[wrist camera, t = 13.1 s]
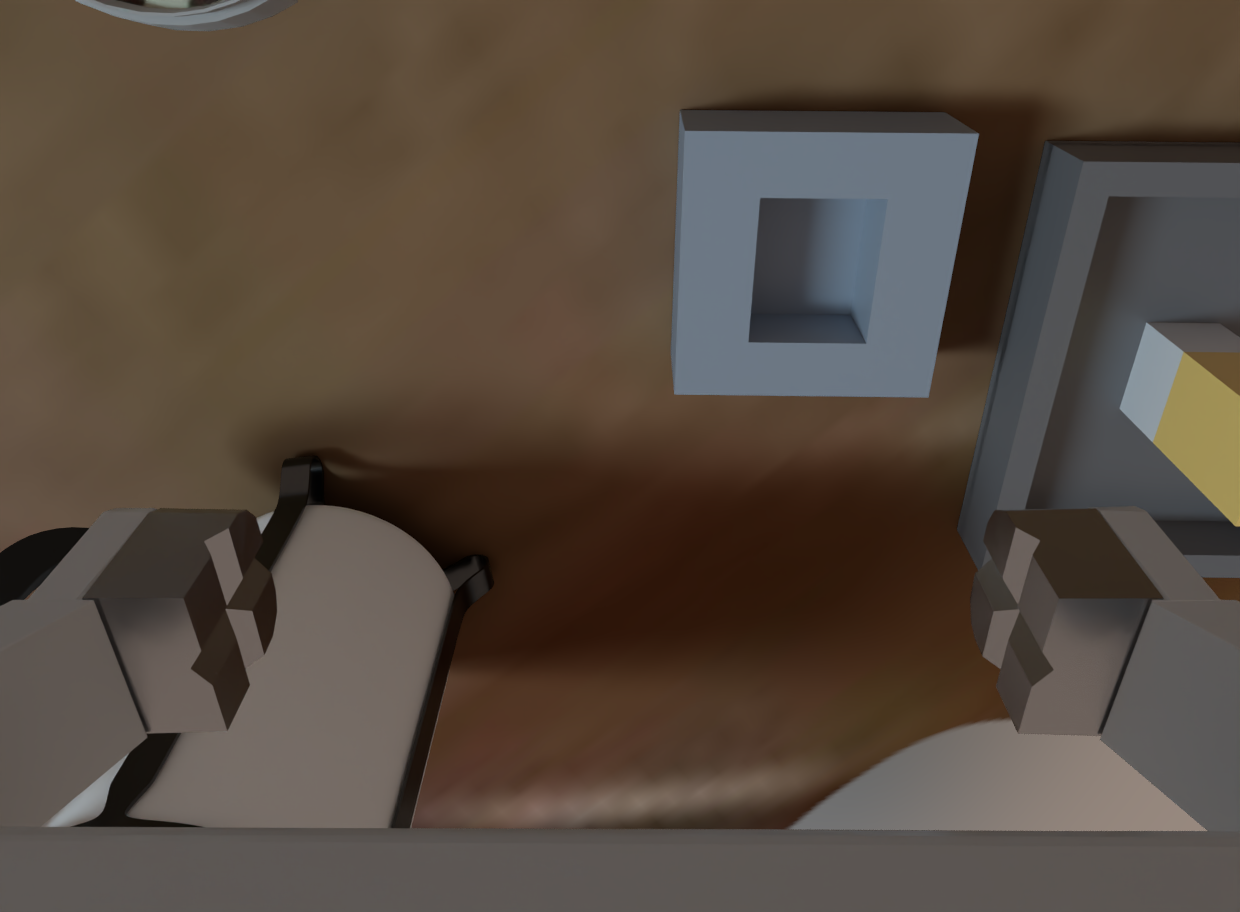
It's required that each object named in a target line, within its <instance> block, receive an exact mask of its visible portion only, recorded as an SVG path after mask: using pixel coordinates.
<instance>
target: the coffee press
mask: <svg viewBox="0 0 1240 912" xmlns="http://www.w3.org/2000/svg"><path fill="white" fill-rule="evenodd" d="M256 519H257V522H258V525H259V529H260V532H261V535H262V539H263V543H262V545H261V547H260V548H259V550H258V552H257V554H256V556H255V557H254V558H255V559H256V560H257V561H258V562H260V563H261V564H262V565H263V566H264V567H265V568H266V569H267V570H268V571H270V572H271V573H272V577H273V581H274V585H275V589H276V598H277V616H276V622H275V628H274V633H273V637H272V640H271V642H270V644H269V646H268V648H267V651H266V653H265V655H264V656H263V657H261V658H260V659H258V660H257V661H256V662H254V663H253V664H251V665H250V666H248V667H247V668H246V673H247V676H248V679H249V683H250V686H249V688H248V690H247V692H246V694H245V697H244V699H243V701H242V703H241V705H240V707H239V709H238V711H237V713H236V715H235V717H234V719H233V721H232V723H231V725H230V727H229V729H228V731H226V732H185V733H146V734H147V738H146V739H145V740H144V741H143V742H141V743H140V744H139V745H138V746H137V747H135V748H134V749H133V750H132V751H131V752H129V753H128V754H127V755H126V756H125V757H123V758H122V759H121V760H120V761H119V762H118V763H116V764H115V765H114V766H113V767H112V768H110V769H109V770H108V771H107V772H106V773H104V774H103V775H102V776H101V777H100V778H98V779H97V780H96V781H95V782H94V783H92V784H91V785H90V786H89V787H88V788H86V789H85V790H84V791H83V792H82V793H80V794H79V795H78V796H77V797H76V798H74V799H73V800H72V801H71V802H70V803H68V804H67V805H66V806H65V807H64V808H62V809H61V810H60V811H59V812H58V813H56V814H55V815H54V816H53V817H52V818H50V819H49V820H48V821H47V822H46V823H44V824H43V825H42V826H41V827H219V828H411V825H412V821H413V817H414V813H415V809H416V805H417V801H418V797H419V793H420V789H421V784H422V780H423V776H424V772H425V768H426V764H427V760H428V756H429V752H430V748H431V744H432V740H433V735H434V731H435V727H436V723H437V719H438V715H439V711H440V707H441V703H442V699H443V694H444V690H445V686H446V682H447V678H448V674H449V669H450V665H451V661H452V657H453V653H454V649H455V645H456V641H457V637H458V634H459V630H460V626H461V623H462V620H463V617H464V614H465V612H466V611H467V609H468V608H469V607H470V606H471V605H472V604H473V603H474V602H475V601H477V600H478V599H479V598H480V597H481V596H483V595H484V594H485V593H487V592H488V591H489V590H490V589H491V588H492V587H493V585H494V580H493V576H492V572H491V568H490V564H489V560H488V558H487V557H486V556H484V555H471V556H468V557H466V558H464V559H462V560H460V561H458V562H457V563H455V564H453V565H451V566H450V567H448V568H445V569H443V570H442V569H441V567H440V566H439V564H438V563H437V562H436V560H435V559H434V558H433V557H432V555H431V554H430V553H429V552H428V551H427V550H426V549H425V548H424V547H423V546H422V545H421V544H420V543H418V542H417V541H416V540H415V539H414V538H412V537H411V536H410V535H408V534H407V533H405V532H404V531H402V530H401V529H399V528H398V527H396V526H394V525H392V524H390V523H389V522H387V521H384V520H382V519H380V518H378V517H375V516H373V515H370V514H367V513H364V512H361V511H357V510H353V509H349V508H343V507H337V506H327V505H325V502H324V472H323V466H322V463H321V461H320V459H319V458H318V457H317V456H306V457H298V458H289V459H285V460H284V462H283V465H282V472H281V486H280V495H279V500H278V504H277V507H276V509H275V511H273V512H270V513H267V514H265V515H262V516H260V517H258V518H256ZM88 529H89V528H75V527H70V528H59V529H53V530H48V531H43V532H40V533H37V534H33V535H30V536H28V537H26V538H24V539H22V540H20V541H17V542H16V543H14V544H13V545H11V546H9V547H8V548H6V549H5V550H3V551H2V552H1V553H0V606H2V605H4V604H6V603H8V602H10V601H12V600H24V599H25V598H26V597H27V596H28V595H29V594H30V593H31V592H32V591H34V590H35V589H36V588H37V587H39V586H40V585H41V584H42V583H43V582H44V580H45V579H46V578H47V577H48V576H49V575H50V573H51V572H52V571H53V570H54V569H55V568H56V566H57V565H58V564H59V563H60V562H61V561H62V559H63V558H64V557H65V556H66V555H67V554H68V553H69V551H70V550H71V549H72V548H73V547H74V546H75V544H76V543H77V542H78V541H79V540H80V539H81V537H82V536H83V535H84V534H85V533H86V532H87V530H88ZM457 588H458V590H457V591H456V593H455V596H454V593H453V590H455V589H457Z"/></svg>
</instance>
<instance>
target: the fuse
mask: <svg viewBox="0 0 1240 912" xmlns="http://www.w3.org/2000/svg"><path fill="white" fill-rule="evenodd" d="M1120 410H1121V411H1122V412H1123V413H1124V414H1125V415H1126V416H1127V417H1128V418H1129V419H1130V420H1131V421H1132V422H1133V423H1134V424H1135V425H1136V426H1137V427H1138V428H1139V429H1140V430H1141V431H1142V432H1143V433H1144V434H1145V435H1146V436H1147V437H1148V438H1149V439H1150V440H1151V441H1152V442H1153V443H1154V444H1155V445H1156V446H1157V447H1158V448H1159V449H1160V450H1161V451H1162V452H1163V453H1164V454H1165V455H1166V456H1167V458H1168V459H1169V460H1170V461H1171V462H1172V463H1173V464H1174V465H1175V466H1176V467H1177V468H1178V469H1179V470H1180V471H1181V472H1182V473H1183V474H1184V475H1185V476H1186V477H1187V478H1188V479H1189V480H1190V481H1191V482H1192V483H1193V484H1194V485H1195V486H1196V487H1197V488H1198V489H1199V490H1200V491H1201V492H1202V493H1203V494H1204V495H1205V496H1206V497H1207V498H1208V499H1209V500H1210V501H1211V502H1212V503H1213V504H1214V505H1215V506H1216V507H1217V508H1218V509H1219V510H1220V511H1221V512H1222V513H1223V514H1224V515H1225V516H1226V517H1227V518H1228V519H1229V520H1230V521H1231V522H1232V523H1233V524H1234V526H1240V337H1239V336H1237V335H1236V334H1234V333H1233V332H1231V331H1230V330H1229V329H1227V328H1226V327H1224V326H1223V325H1221V324H1220V323H1160V322H1146V325H1145V329H1144V332H1143V335H1142V338H1141V341H1140V345H1139V348H1138V351H1137V354H1136V357H1135V361H1134V364H1133V367H1132V370H1131V373H1130V377H1129V380H1128V383H1127V386H1126V389H1125V393H1124V396H1123V399H1122V402H1121V405H1120Z"/></svg>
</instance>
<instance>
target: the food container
mask: <svg viewBox="0 0 1240 912" xmlns="http://www.w3.org/2000/svg"><path fill="white" fill-rule="evenodd" d="M76 1H77V2H79V3H81V4H84V5H87V6H89V7H92V8H95V9H97V10H100V11H103V12H105V13H108V14H111V15H113V16H116V17H120V18H123V19H127V20H131V21H135V22H139V23H143V24H148V25H153V26H158V27H163V28H168V29H173V30H190V31H214V30H221V29H228V28H235V27H242V26H245V25H248V24H251V23H254V22H257V21H260V20H263V19H266V18H269V17H272V16H274V15H276V14H278V13H279V12H281V11H283V10H285V9H286V8H288V7H290V6H292V5H294V4H295V3H297V2H298V1H297V0H76Z"/></svg>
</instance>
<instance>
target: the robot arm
mask: <svg viewBox="0 0 1240 912" xmlns="http://www.w3.org/2000/svg"><path fill="white" fill-rule="evenodd" d="M983 542H984V544H985V546H986V548H987V550H988V552H989V553H990V555H991V557H992V558H991V559H990V560H989V561H988V562H987V563H986V564H985V565H984V566H983V567H981V568H980V569H979V570H978V571H977V572H976V573H975V576H974V582H973V587H972V592H971V597H970V604H971V624H972V628H973V632H974V636H975V640H976V642H977V645H978V647H979V649H980V652H981V654H982V656H983V657H984V658H986V659H987V660H989V661H990V662H991V663H993V664H994V665H996V666H997V667H998V668H1000V669H1001V670H1000V674H999V677H998V681H997V685H996V687H997V689H998V691H999V694H1000V696H1001V698H1002V700H1003V702H1004V704H1005V707H1006V709H1007V711H1008V713H1009V715H1010V717H1011V719H1012V722H1013V724H1014V726H1015V728H1016V730H1017V732H1018V733H1019V734H1053V735H1087V736H1101V739H1100V740H1101V741H1103V742H1104V743H1105V744H1106V745H1107V746H1108V747H1110V748H1111V749H1112V750H1113V751H1114V752H1115V753H1117V754H1118V755H1119V756H1120V757H1121V758H1123V759H1124V760H1125V761H1126V762H1127V763H1128V764H1130V765H1131V766H1132V767H1133V768H1134V769H1135V770H1137V771H1138V772H1139V773H1140V774H1141V775H1143V776H1144V777H1145V778H1146V779H1147V780H1149V781H1150V782H1151V783H1152V784H1153V785H1154V786H1156V787H1157V788H1158V789H1159V790H1160V791H1161V792H1163V793H1164V794H1165V795H1166V796H1167V797H1168V798H1170V799H1171V800H1172V801H1173V802H1174V803H1176V804H1177V805H1178V806H1179V807H1180V808H1181V809H1183V810H1184V811H1185V812H1186V813H1187V814H1188V815H1190V816H1191V817H1192V818H1193V819H1194V820H1196V821H1197V822H1198V823H1199V824H1200V825H1201V826H1203V827H1204V828H1205V829H1206V830H1207V831H942V830H940V831H939V830H936V831H935V830H931V831H930V830H775V829H479V828H219V827H41V826H42V825H43V824H44V823H46V822H47V821H48V820H49V819H50V818H52V817H53V816H54V815H55V814H56V813H58V812H59V811H60V810H61V809H62V808H64V807H65V806H66V805H67V804H68V803H70V802H71V801H72V800H73V799H74V798H76V797H77V796H78V795H79V794H80V793H82V792H83V791H84V790H85V789H86V788H88V787H89V786H90V785H91V784H92V783H94V782H95V781H96V780H97V779H98V778H100V777H101V776H102V775H103V774H104V773H106V772H107V771H108V770H109V769H110V768H112V767H113V766H114V765H115V764H116V763H118V762H119V761H120V760H121V759H122V758H123V757H125V756H126V755H127V754H128V753H129V752H131V751H132V750H133V749H134V748H135V747H137V746H138V745H139V744H140V743H141V742H143V741H144V740H145V739H146V738H147V734H146V733H185V732H226V731H228V729H229V727H230V725H231V723H232V721H233V719H234V717H235V715H236V713H237V711H238V709H239V707H240V705H241V703H242V701H243V699H244V697H245V694H246V692H247V690H248V688H249V686H250V683H249V679H248V676H247V673H246V668H247V667H248V666H250V665H251V664H253V663H254V662H256V661H257V660H258V659H260V658H261V657H263V656H264V655H265V653H266V651H267V648H268V646H269V644H270V642H271V640H272V637H273V633H274V628H275V622H276V616H277V598H276V589H275V585H274V581H273V577H272V573H271V572H270V571H268V570H267V569H266V568H265V567H264V566H263V565H262V564H261V563H260V562H258V561H257V560H256V559H255V558H254V557H255V556H256V554H257V552H258V550H259V548H260V547H261V545H262V543H263V539H262V535H261V532H260V529H259V525H258V522H257V519H256V517H255V516H254V515H253V514H251V513H250V512H249V511H247V510H227V509H175V508H160V509H155V508H115V509H112V510H108V511H105V512H103V513H102V514H101V515H100V517H99V518H98V519H97V520H96V521H95V522H94V524H93V525H92V526H91V527H90V528H89V529H88V530H87V532H86V533H85V534H84V535H83V536H82V537H81V539H80V540H79V541H78V542H77V543H76V544H75V546H74V547H73V548H72V549H71V550H70V551H69V553H68V554H67V555H66V556H65V557H64V558H63V559H62V561H61V562H60V563H59V564H58V565H57V566H56V568H55V569H54V570H53V571H52V572H51V573H50V575H49V576H48V577H47V578H46V579H45V580H44V582H43V583H42V584H41V585H40V586H39V587H38V589H37V590H36V591H35V592H34V593H33V594H32V595H31V597H30V598H29V599H28V600H12V601H10V602H8V603H6V604H4V605H2V606H0V912H1240V602H1238V601H1236V600H1220V599H1219V598H1218V597H1217V595H1216V594H1215V593H1214V592H1213V591H1212V589H1211V588H1210V587H1209V586H1208V585H1207V583H1206V582H1205V581H1204V580H1203V579H1202V577H1201V576H1200V575H1199V574H1198V573H1197V571H1196V570H1195V569H1194V568H1193V567H1192V565H1191V564H1190V563H1189V562H1188V561H1187V559H1186V558H1185V557H1184V556H1183V555H1182V553H1181V552H1180V551H1179V550H1178V549H1177V547H1176V546H1175V545H1174V544H1173V543H1172V541H1171V540H1170V539H1169V538H1168V537H1167V535H1166V534H1165V533H1164V532H1163V531H1162V529H1161V528H1160V527H1159V526H1158V525H1157V523H1156V522H1155V521H1154V520H1153V519H1152V517H1151V516H1150V515H1149V514H1148V513H1147V512H1146V511H1145V510H1142V509H1140V508H1138V507H1136V506H1122V507H1091V508H1087V509H1029V510H994V512H993V514H992V515H991V517H990V519H989V521H988V523H987V527H986V531H985V535H984V538H983Z"/></svg>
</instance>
